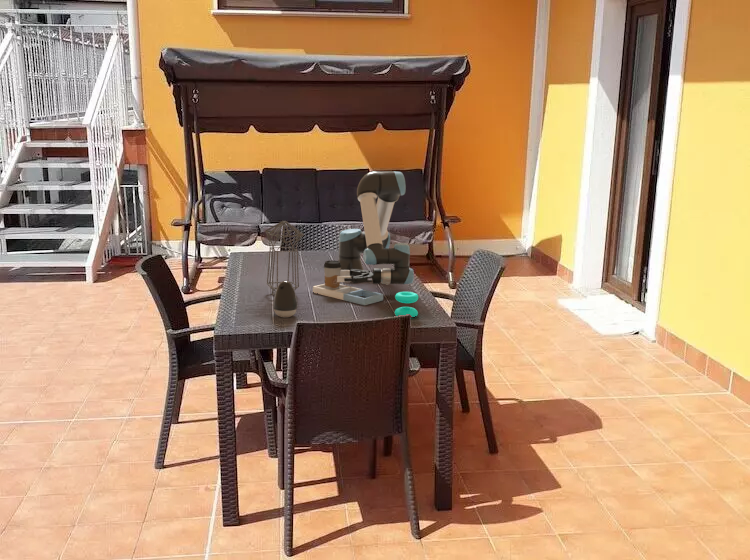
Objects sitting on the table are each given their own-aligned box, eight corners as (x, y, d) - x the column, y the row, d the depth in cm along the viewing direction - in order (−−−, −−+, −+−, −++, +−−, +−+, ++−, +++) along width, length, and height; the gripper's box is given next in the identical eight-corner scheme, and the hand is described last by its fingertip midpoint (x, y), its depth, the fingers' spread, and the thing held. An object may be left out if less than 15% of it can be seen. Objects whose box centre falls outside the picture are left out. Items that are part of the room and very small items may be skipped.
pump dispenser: (268, 317, 323) (268, 282, 319) (280, 311, 332) (280, 277, 329) (290, 320, 319) (290, 284, 316) (301, 314, 329) (301, 279, 325)
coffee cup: (327, 295, 362) (328, 264, 359) (320, 291, 369) (320, 260, 366) (343, 293, 366) (344, 263, 363) (336, 290, 373) (336, 259, 370)
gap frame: (331, 288, 377) (331, 282, 376) (383, 300, 356) (383, 294, 355) (312, 292, 367) (312, 286, 366) (364, 305, 346) (364, 298, 345)
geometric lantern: (262, 292, 365) (263, 219, 358) (294, 290, 371) (295, 218, 364) (271, 299, 351) (272, 223, 344) (304, 297, 357) (306, 223, 350)
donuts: (412, 290, 334) (422, 295, 325) (411, 312, 337) (421, 318, 328) (391, 291, 330) (401, 297, 321) (390, 314, 333) (400, 320, 324)
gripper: (383, 290, 356) (337, 289, 354) (378, 278, 380) (335, 277, 378) (383, 274, 354) (337, 273, 352) (379, 263, 378) (335, 262, 377)
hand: (336, 275), depth 365 cm, fingers open, 13 cm apart
